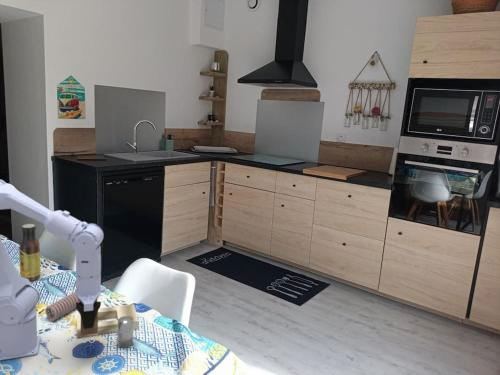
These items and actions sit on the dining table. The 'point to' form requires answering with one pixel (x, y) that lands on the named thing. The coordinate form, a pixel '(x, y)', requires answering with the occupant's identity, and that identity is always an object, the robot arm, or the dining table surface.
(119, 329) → the clear glass
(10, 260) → the robot arm
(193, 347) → the dining table surface
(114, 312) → the socket board
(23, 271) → the sauce bottle
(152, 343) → the dining table surface
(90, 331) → the square peg
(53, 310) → the coil
